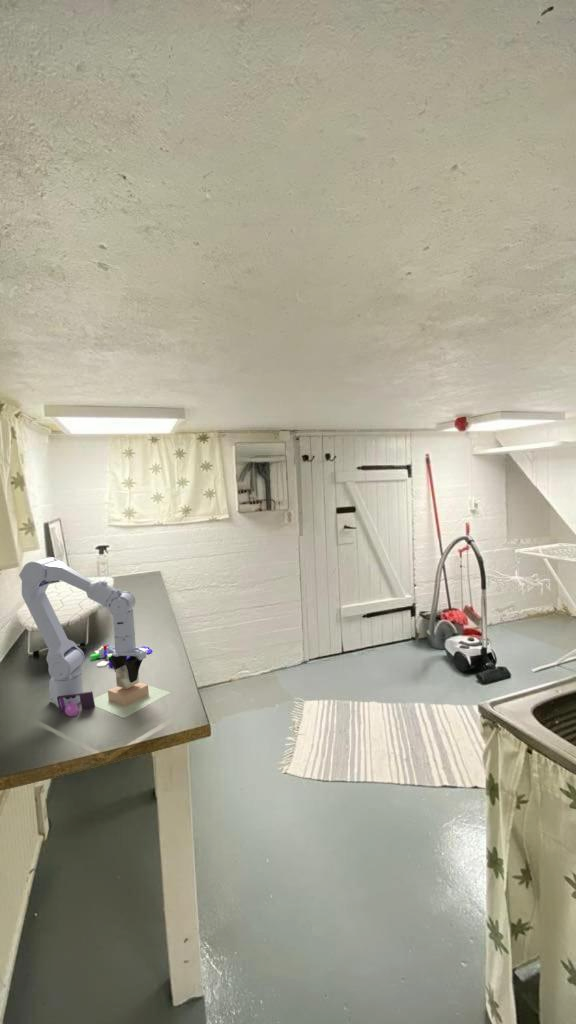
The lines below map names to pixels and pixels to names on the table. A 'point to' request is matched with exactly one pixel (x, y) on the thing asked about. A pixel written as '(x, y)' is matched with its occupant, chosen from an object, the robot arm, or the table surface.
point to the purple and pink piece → (71, 707)
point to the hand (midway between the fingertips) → (127, 679)
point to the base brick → (128, 694)
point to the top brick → (124, 678)
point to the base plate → (124, 711)
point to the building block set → (102, 653)
